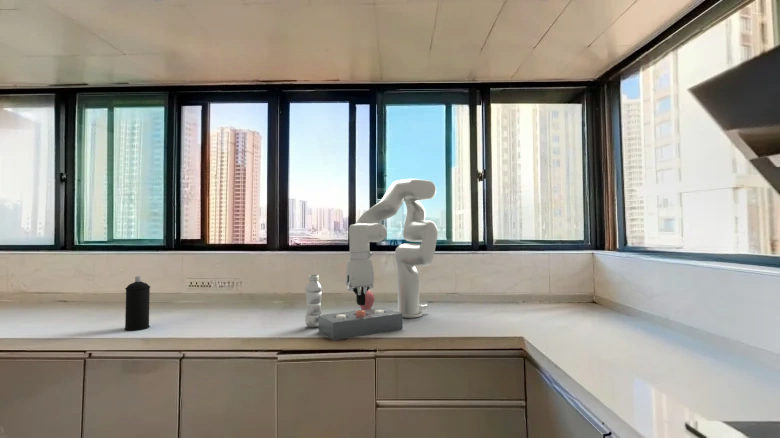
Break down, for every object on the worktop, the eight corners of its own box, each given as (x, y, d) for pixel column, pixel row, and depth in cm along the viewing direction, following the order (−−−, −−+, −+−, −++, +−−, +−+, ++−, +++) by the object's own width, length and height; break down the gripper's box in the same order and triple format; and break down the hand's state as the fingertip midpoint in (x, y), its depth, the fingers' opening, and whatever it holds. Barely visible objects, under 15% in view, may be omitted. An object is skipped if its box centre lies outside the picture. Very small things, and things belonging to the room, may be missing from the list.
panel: (383, 322, 157) (383, 307, 157) (402, 329, 145) (402, 313, 145) (318, 331, 142) (318, 315, 143) (333, 340, 130) (333, 322, 131)
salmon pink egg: (363, 325, 146) (362, 309, 146) (367, 327, 143) (367, 311, 143) (354, 327, 144) (354, 310, 145) (358, 329, 141) (358, 312, 141)
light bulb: (354, 319, 162) (354, 291, 162) (362, 316, 169) (362, 288, 169) (370, 321, 159) (370, 291, 160) (377, 317, 166) (377, 289, 166)
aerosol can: (154, 327, 151) (155, 275, 151) (132, 332, 143) (134, 278, 144) (141, 325, 154) (142, 275, 155) (119, 329, 147) (120, 277, 147)
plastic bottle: (318, 329, 146) (318, 276, 147) (302, 328, 147) (302, 276, 148) (324, 325, 152) (325, 274, 153) (308, 324, 154) (309, 274, 154)
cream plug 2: (381, 324, 150) (381, 309, 150) (385, 326, 147) (385, 311, 147) (373, 326, 148) (373, 310, 149) (377, 328, 145) (377, 312, 146)
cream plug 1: (343, 330, 142) (343, 314, 142) (347, 332, 139) (347, 315, 139) (334, 331, 140) (334, 315, 140) (338, 333, 137) (338, 316, 137)
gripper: (372, 254, 153) (373, 300, 153) (337, 257, 145) (338, 305, 145) (381, 255, 147) (383, 303, 146) (346, 258, 139) (347, 309, 139)
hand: (361, 304), depth 146 cm, fingers closed
